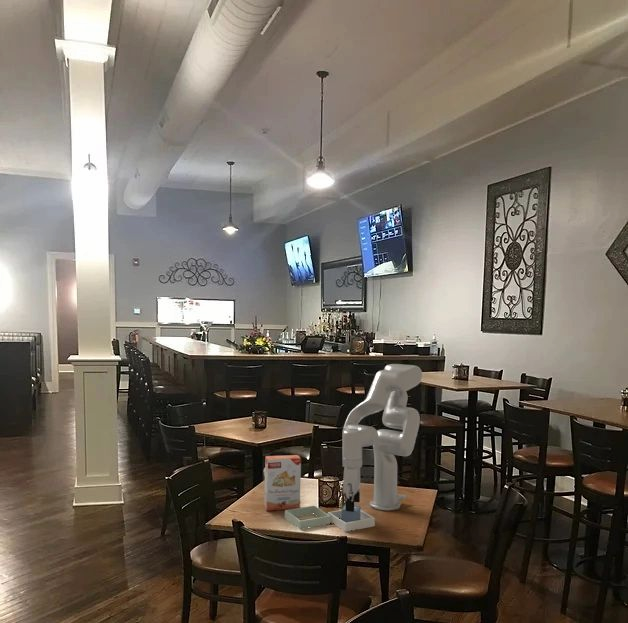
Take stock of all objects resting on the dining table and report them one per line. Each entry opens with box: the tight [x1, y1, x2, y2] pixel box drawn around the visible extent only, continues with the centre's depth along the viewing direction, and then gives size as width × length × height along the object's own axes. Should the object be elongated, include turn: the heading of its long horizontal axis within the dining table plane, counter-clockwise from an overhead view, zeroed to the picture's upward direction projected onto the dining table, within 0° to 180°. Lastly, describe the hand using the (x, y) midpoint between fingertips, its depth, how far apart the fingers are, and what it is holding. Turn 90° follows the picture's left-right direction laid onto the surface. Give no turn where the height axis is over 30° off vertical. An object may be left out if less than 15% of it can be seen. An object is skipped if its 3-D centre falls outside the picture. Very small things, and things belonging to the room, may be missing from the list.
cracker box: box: [263, 454, 302, 512], centre depth 226 cm, size 14×6×21 cm, turn 105°
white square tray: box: [327, 509, 376, 533], centre depth 210 cm, size 13×13×3 cm
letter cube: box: [340, 503, 362, 523], centre depth 210 cm, size 6×6×6 cm
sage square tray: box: [284, 505, 332, 530], centre depth 211 cm, size 13×13×3 cm
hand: (352, 506), depth 211 cm, fingers open, 9 cm apart
